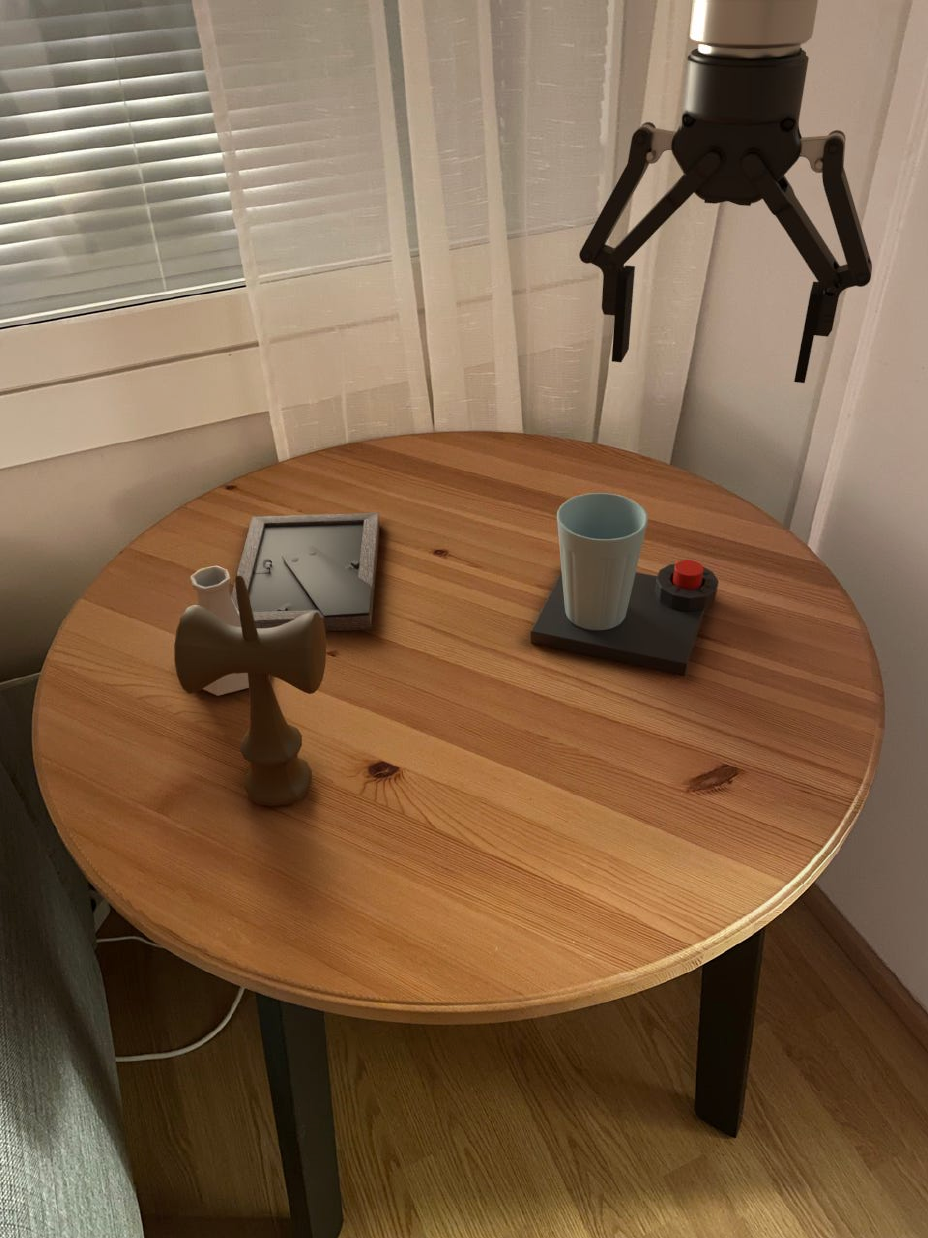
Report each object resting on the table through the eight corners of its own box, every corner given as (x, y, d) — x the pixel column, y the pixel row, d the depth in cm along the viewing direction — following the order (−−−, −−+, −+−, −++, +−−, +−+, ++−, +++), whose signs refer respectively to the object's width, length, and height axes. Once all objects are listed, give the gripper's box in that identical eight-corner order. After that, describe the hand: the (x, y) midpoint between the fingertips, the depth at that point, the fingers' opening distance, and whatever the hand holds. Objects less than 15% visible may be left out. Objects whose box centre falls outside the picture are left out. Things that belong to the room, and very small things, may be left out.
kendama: (228, 756, 80) (179, 548, 68) (347, 760, 80) (319, 550, 67) (208, 814, 75) (151, 601, 63) (334, 819, 75) (302, 604, 63)
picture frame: (371, 629, 93) (379, 524, 107) (369, 612, 92) (378, 508, 106) (227, 634, 93) (254, 529, 107) (223, 617, 91) (251, 513, 106)
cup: (561, 582, 96) (565, 487, 89) (642, 593, 94) (652, 497, 87) (545, 631, 90) (549, 533, 83) (631, 644, 88) (642, 545, 82)
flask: (174, 666, 89) (149, 574, 83) (245, 633, 93) (227, 542, 87) (213, 708, 85) (191, 614, 79) (287, 671, 88) (271, 578, 82)
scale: (718, 594, 96) (722, 568, 94) (693, 678, 86) (698, 651, 85) (568, 566, 100) (569, 541, 98) (530, 643, 91) (530, 616, 89)
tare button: (703, 577, 94) (705, 562, 92) (698, 593, 92) (700, 577, 91) (675, 572, 94) (677, 557, 93) (670, 588, 92) (672, 572, 91)
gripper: (959, 41, 63) (883, 364, 76) (572, 34, 70) (562, 330, 83) (964, 61, 57) (880, 405, 70) (542, 51, 64) (536, 365, 77)
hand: (708, 365), depth 76 cm, fingers open, 13 cm apart
